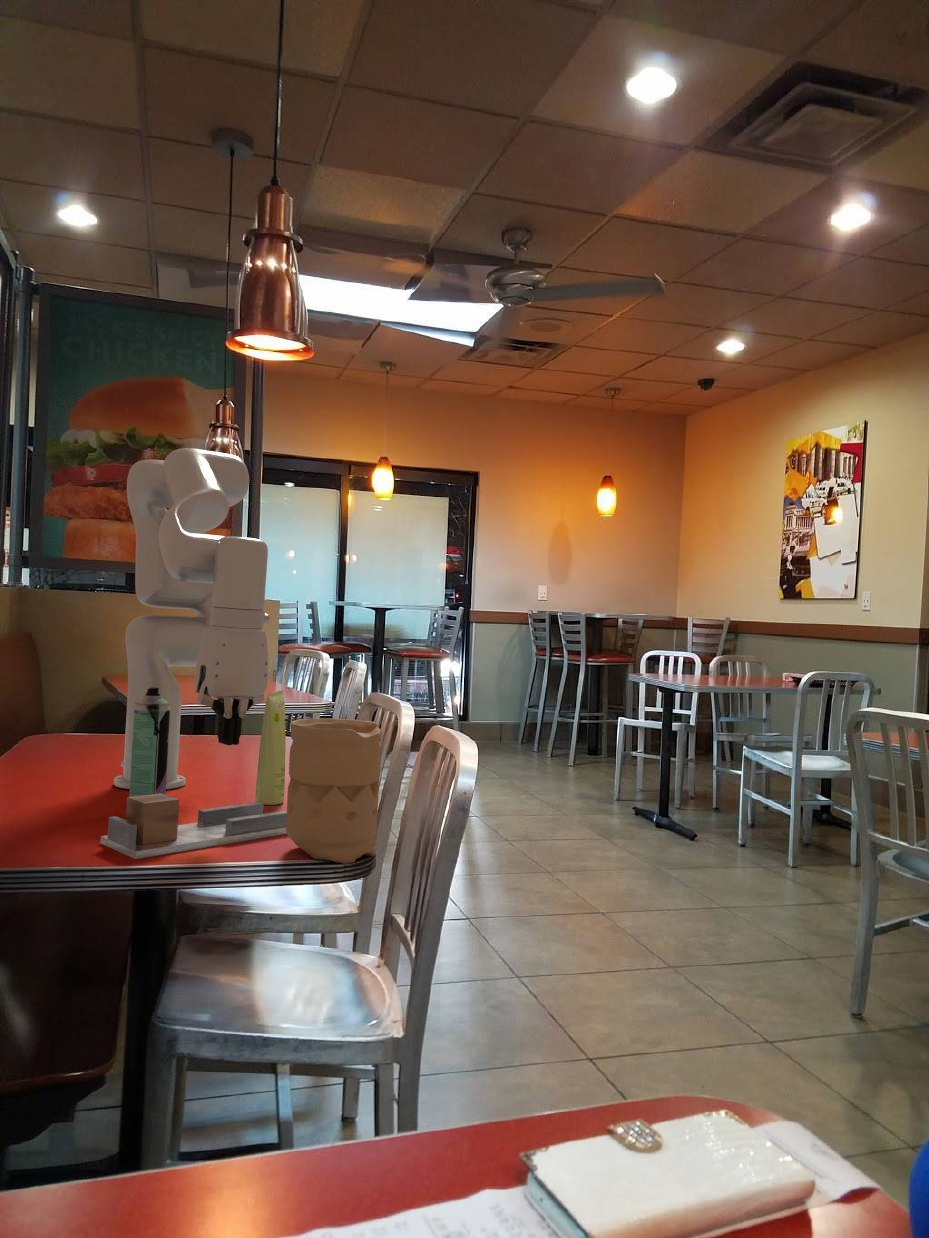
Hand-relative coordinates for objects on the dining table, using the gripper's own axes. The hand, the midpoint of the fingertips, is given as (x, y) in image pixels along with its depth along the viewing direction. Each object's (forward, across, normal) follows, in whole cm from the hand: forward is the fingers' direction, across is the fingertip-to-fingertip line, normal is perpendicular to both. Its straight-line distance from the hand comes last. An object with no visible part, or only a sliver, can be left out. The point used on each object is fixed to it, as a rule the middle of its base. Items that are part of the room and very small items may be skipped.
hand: (228, 743), depth 131 cm
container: (+13, -6, +18) cm, 23 cm away
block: (+12, +12, +2) cm, 17 cm away
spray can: (+14, +2, -18) cm, 23 cm away
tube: (+14, -18, -14) cm, 26 cm away
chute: (+13, +4, +2) cm, 14 cm away
